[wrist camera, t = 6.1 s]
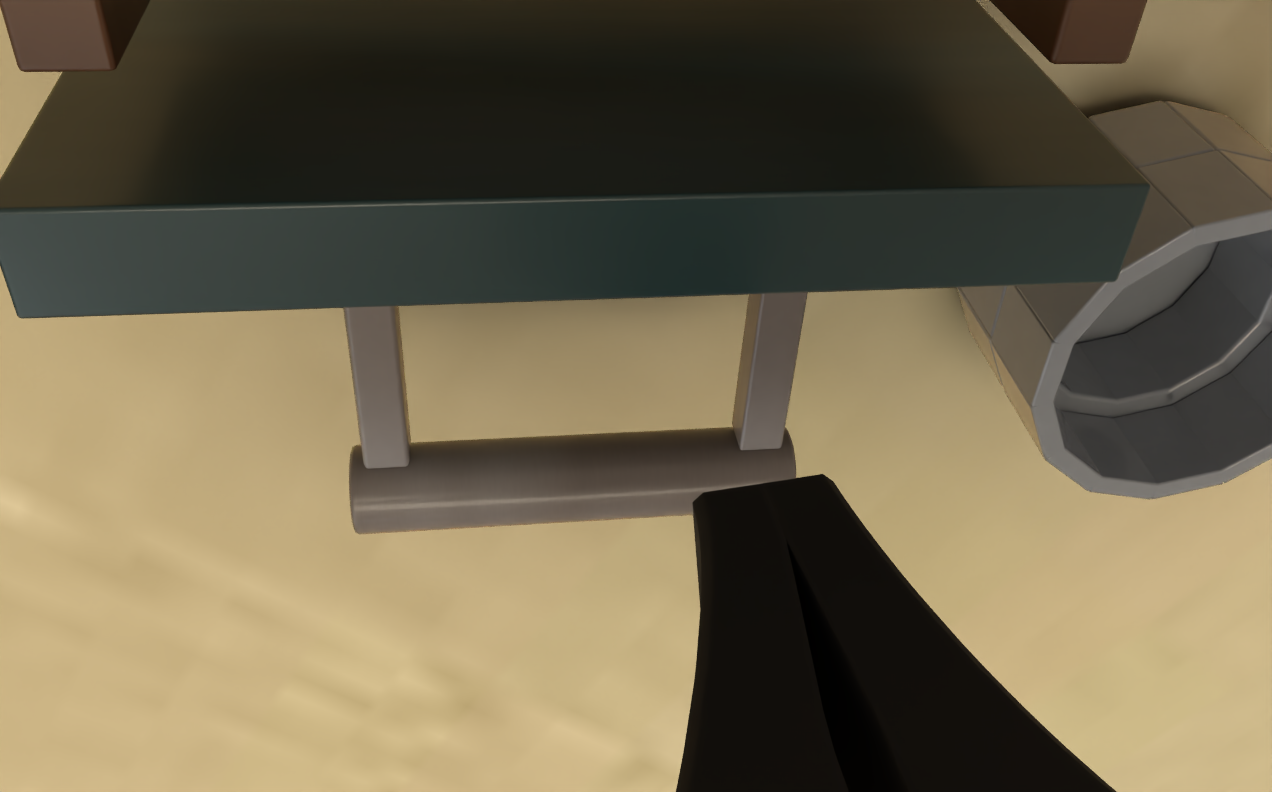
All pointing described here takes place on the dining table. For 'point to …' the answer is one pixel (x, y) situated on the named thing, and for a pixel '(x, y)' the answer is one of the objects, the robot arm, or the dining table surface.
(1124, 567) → the dining table surface
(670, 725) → the dining table surface
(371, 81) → the drawer
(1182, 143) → the grey plastic pail
